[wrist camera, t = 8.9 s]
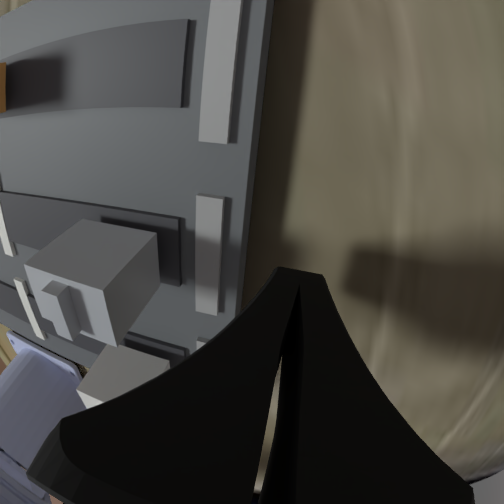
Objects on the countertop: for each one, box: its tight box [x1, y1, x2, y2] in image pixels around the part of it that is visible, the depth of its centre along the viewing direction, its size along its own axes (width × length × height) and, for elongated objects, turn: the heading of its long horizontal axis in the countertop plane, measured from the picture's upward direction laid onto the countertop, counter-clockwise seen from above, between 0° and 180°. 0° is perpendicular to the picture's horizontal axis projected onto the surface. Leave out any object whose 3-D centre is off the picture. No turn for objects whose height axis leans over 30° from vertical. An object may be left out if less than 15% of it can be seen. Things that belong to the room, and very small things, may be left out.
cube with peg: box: [24, 219, 160, 347], centre depth 9 cm, size 2×3×4 cm, turn 84°
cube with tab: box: [76, 344, 170, 409], centre depth 12 cm, size 2×3×4 cm, turn 84°
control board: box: [0, 0, 274, 368], centre depth 12 cm, size 19×18×1 cm
